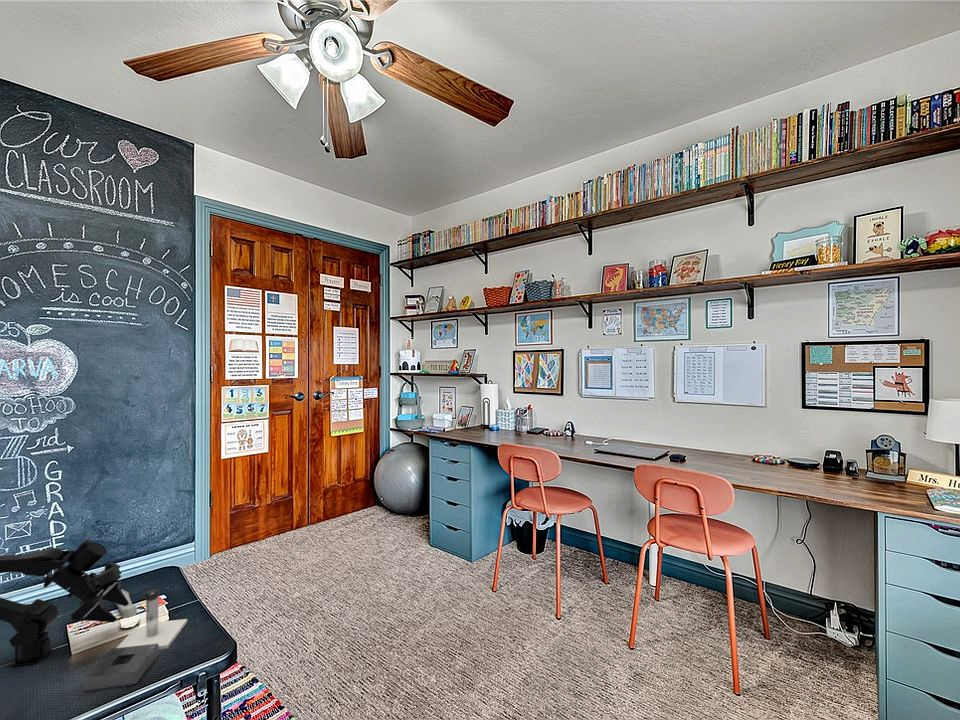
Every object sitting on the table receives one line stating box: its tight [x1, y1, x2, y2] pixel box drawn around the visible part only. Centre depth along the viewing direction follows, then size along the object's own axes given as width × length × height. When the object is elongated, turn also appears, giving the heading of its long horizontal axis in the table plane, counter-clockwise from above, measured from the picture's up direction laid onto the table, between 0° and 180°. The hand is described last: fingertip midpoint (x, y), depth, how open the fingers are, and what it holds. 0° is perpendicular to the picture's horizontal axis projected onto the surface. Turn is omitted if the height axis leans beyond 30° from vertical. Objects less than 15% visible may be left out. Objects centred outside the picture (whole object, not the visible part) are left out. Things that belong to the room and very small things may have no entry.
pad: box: [116, 618, 188, 651], centre depth 141 cm, size 14×14×1 cm
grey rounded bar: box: [114, 589, 138, 618], centre depth 154 cm, size 5×7×25 cm
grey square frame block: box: [83, 644, 159, 692], centre depth 125 cm, size 12×12×4 cm
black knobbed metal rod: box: [144, 588, 160, 637], centre depth 141 cm, size 4×4×13 cm
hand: (121, 612), depth 138 cm, fingers open, 9 cm apart
